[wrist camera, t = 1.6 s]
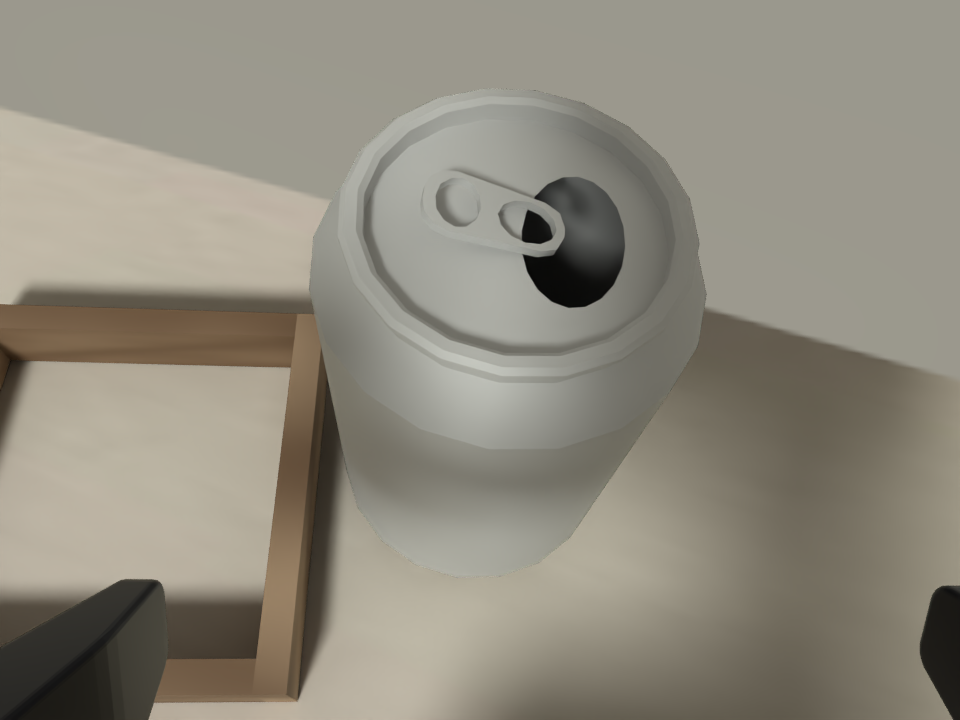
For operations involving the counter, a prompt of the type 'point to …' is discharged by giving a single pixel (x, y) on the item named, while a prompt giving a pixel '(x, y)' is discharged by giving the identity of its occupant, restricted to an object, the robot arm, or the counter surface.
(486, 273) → the can
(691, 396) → the counter surface
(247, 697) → the frame
